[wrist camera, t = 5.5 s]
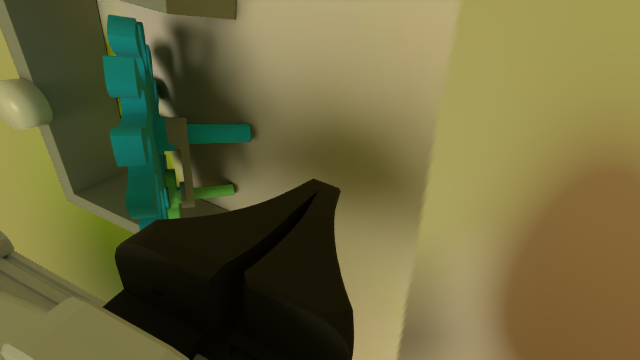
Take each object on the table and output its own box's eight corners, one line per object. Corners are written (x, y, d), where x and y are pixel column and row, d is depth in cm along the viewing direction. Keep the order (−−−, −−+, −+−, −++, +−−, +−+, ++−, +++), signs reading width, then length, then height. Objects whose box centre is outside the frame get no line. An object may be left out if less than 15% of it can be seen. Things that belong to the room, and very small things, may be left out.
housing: (229, 221, 19) (173, 274, 15) (116, 172, 21) (38, 206, 17) (236, -6, 12) (129, -29, 8) (62, -50, 14) (-99, -88, 10)
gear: (104, -18, 12) (45, 82, 6) (236, 6, 15) (290, 94, 9) (147, 163, 19) (140, 293, 13) (231, 159, 22) (258, 266, 16)
